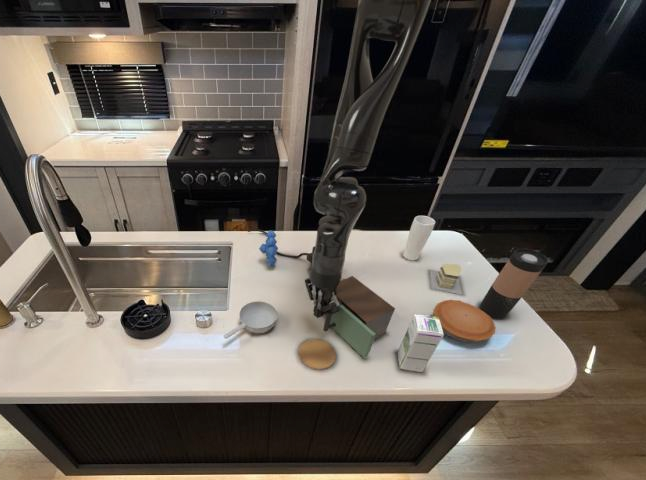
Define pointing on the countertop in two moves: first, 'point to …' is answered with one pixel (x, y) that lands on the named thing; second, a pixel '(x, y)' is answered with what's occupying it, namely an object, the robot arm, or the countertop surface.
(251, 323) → the grey frying pan
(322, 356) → the cork mat
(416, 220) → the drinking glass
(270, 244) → the grapes
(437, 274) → the stacked layers on plate
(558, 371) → the countertop surface
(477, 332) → the pie
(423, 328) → the syrup box
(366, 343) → the cupboard door
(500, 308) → the travel mug
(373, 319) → the cupboard
